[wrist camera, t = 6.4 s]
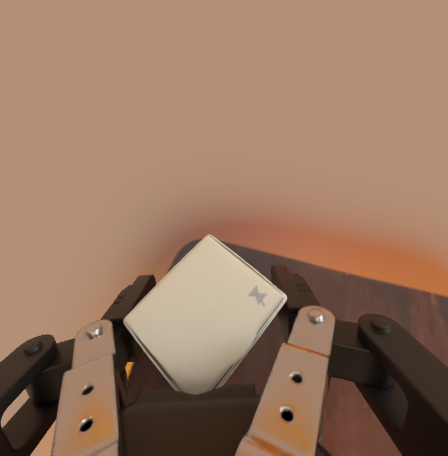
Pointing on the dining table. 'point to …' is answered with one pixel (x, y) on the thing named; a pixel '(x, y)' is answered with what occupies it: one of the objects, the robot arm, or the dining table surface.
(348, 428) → the dining table surface
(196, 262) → the box
